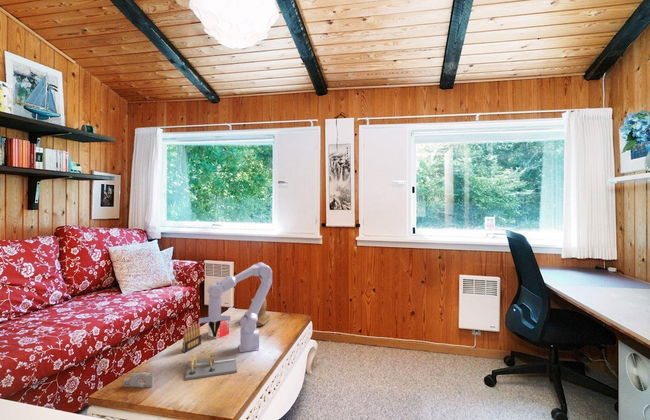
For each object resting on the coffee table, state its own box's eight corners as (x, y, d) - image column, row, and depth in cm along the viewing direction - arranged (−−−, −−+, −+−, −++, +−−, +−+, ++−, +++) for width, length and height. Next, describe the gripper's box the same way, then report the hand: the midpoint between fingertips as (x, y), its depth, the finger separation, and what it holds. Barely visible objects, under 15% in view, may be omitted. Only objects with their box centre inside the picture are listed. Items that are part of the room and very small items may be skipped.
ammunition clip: (185, 353, 158) (185, 329, 157) (182, 352, 158) (182, 328, 158) (201, 344, 168) (201, 321, 167) (198, 343, 168) (198, 321, 168)
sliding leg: (214, 360, 148) (214, 352, 148) (213, 369, 141) (213, 361, 140) (208, 360, 148) (208, 353, 148) (208, 370, 140) (208, 362, 140)
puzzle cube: (208, 335, 178) (208, 321, 178) (219, 330, 185) (219, 317, 185) (217, 339, 174) (217, 324, 174) (229, 334, 181) (229, 320, 180)
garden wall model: (122, 387, 129) (122, 373, 129) (125, 384, 131) (125, 370, 130) (152, 387, 129) (152, 373, 129) (155, 384, 131) (155, 370, 131)
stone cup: (255, 316, 207) (255, 294, 207) (272, 318, 205) (272, 295, 204) (244, 325, 192) (244, 301, 192) (263, 327, 190) (263, 303, 189)
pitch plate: (235, 357, 154) (235, 347, 154) (236, 372, 141) (237, 362, 141) (188, 363, 148) (188, 353, 148) (185, 380, 134) (185, 369, 134)
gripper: (198, 313, 149) (198, 341, 150) (230, 310, 154) (230, 337, 154) (199, 308, 156) (199, 335, 156) (230, 305, 161) (229, 331, 161)
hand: (214, 336), depth 156 cm, fingers closed
